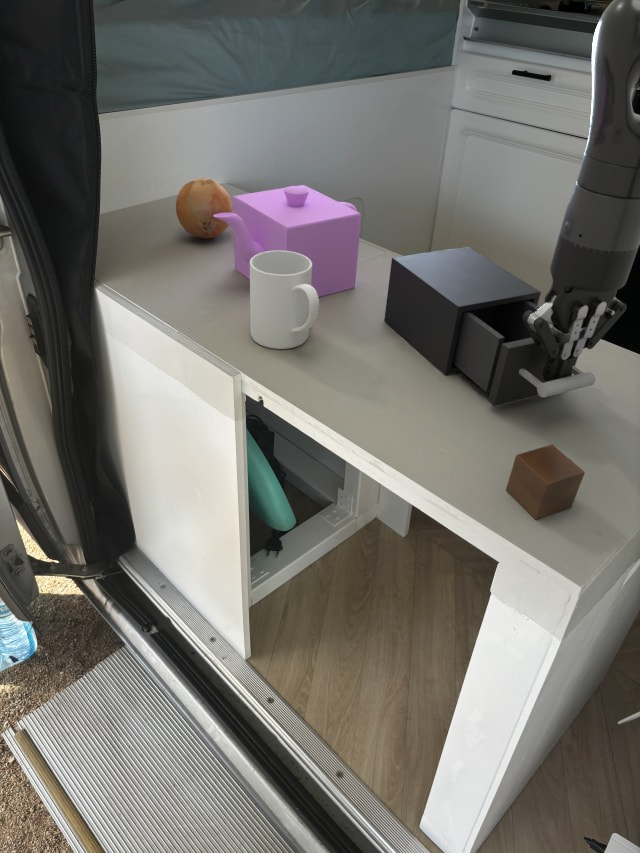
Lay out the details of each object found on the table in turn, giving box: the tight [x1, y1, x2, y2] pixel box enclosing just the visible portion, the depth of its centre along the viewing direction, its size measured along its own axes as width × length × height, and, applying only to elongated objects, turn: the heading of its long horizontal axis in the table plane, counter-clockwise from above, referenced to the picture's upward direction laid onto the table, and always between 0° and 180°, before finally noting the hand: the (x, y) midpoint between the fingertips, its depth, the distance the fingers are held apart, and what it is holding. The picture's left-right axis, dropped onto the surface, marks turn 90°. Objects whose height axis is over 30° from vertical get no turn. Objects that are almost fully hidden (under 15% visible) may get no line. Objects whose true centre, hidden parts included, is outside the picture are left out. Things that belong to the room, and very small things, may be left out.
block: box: [505, 444, 586, 520], centre depth 64 cm, size 5×5×5 cm
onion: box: [175, 177, 233, 239], centre depth 113 cm, size 10×10×10 cm
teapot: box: [213, 184, 362, 298], centre depth 99 cm, size 15×25×14 cm, turn 125°
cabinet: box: [383, 246, 542, 376], centre depth 88 cm, size 16×13×10 cm
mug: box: [249, 250, 320, 350], centre depth 84 cm, size 12×8×10 cm, turn 33°
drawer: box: [452, 300, 596, 407], centre depth 79 cm, size 20×11×8 cm, turn 25°
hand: (554, 381), depth 75 cm, fingers closed
